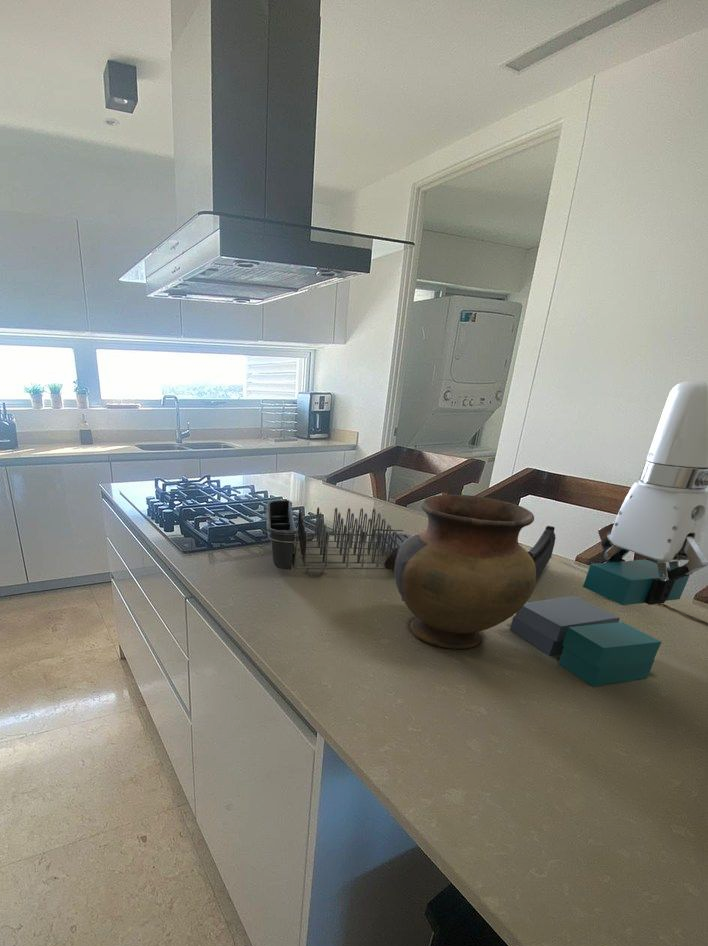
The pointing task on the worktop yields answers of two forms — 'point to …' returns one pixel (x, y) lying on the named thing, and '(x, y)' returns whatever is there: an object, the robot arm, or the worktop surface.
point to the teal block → (627, 581)
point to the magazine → (543, 550)
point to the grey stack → (556, 621)
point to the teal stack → (608, 653)
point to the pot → (464, 569)
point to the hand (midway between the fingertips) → (630, 592)
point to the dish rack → (326, 537)
